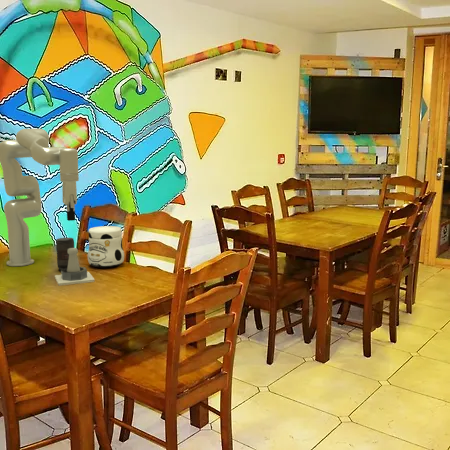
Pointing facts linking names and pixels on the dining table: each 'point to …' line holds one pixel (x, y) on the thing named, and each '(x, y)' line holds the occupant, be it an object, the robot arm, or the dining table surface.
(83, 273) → the holder ring
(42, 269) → the dining table surface
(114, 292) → the dining table surface
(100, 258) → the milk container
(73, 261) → the salt shaker
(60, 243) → the camera lens
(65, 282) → the holder board
